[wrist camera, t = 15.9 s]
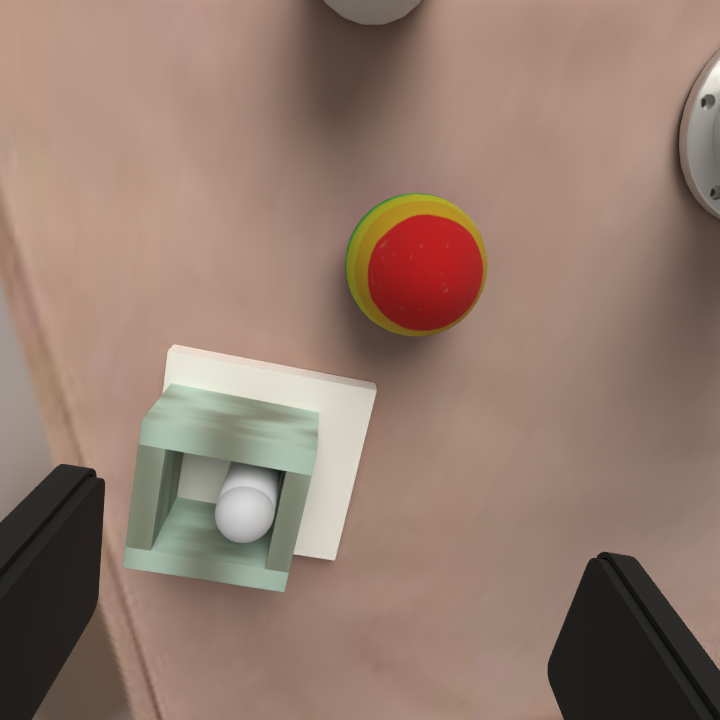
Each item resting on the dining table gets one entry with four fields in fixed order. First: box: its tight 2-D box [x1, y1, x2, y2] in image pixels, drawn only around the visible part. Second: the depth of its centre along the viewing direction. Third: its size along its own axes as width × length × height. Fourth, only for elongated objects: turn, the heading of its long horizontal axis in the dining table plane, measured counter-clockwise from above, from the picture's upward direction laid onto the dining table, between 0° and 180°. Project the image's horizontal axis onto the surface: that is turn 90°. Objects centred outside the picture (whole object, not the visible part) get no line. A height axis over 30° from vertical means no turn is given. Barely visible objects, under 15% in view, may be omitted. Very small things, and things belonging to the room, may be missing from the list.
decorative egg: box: [345, 194, 487, 336], centre depth 31 cm, size 8×8×10 cm
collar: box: [123, 383, 319, 592], centre depth 35 cm, size 10×10×6 cm
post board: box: [163, 345, 377, 560], centre depth 35 cm, size 14×14×9 cm
